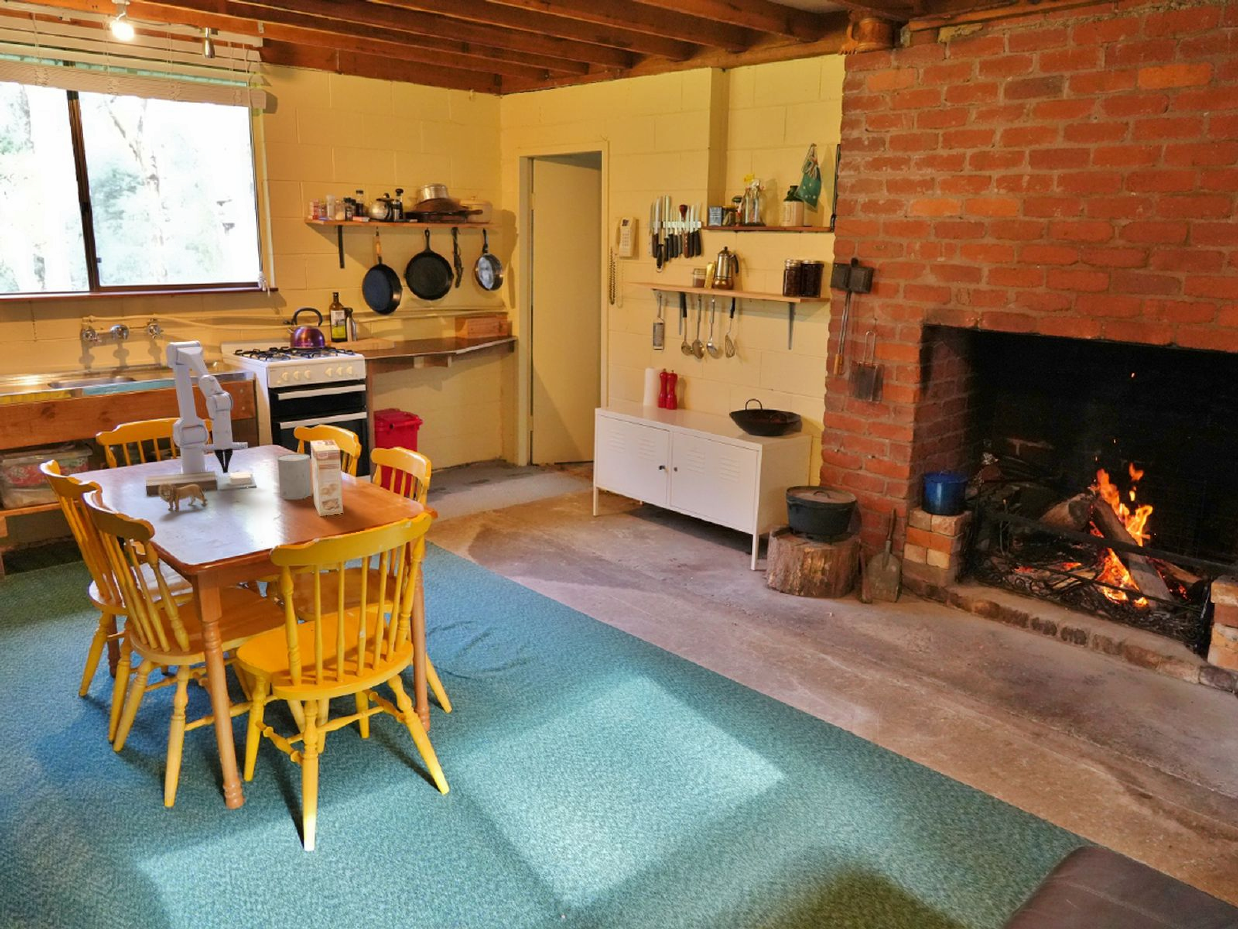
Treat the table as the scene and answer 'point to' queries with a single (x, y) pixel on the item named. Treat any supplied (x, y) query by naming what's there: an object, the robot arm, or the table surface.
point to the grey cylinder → (294, 476)
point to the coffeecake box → (326, 477)
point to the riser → (182, 481)
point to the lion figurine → (180, 494)
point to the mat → (226, 485)
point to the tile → (240, 478)
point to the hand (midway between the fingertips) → (225, 472)
